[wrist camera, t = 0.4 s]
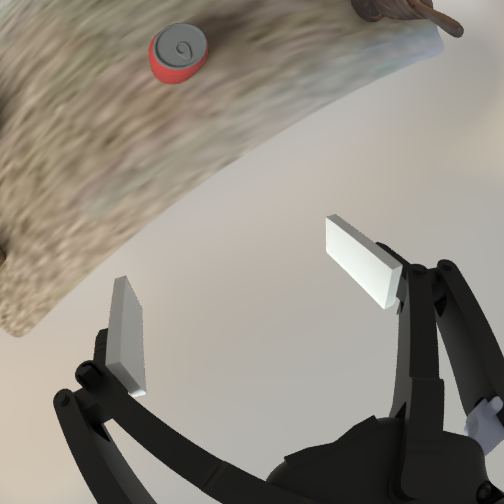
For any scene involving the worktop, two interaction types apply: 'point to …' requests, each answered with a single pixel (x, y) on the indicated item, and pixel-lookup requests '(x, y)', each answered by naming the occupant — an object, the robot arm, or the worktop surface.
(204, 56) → the beer can
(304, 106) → the worktop surface
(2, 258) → the peg frame
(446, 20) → the mortar and pestle
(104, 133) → the worktop surface
